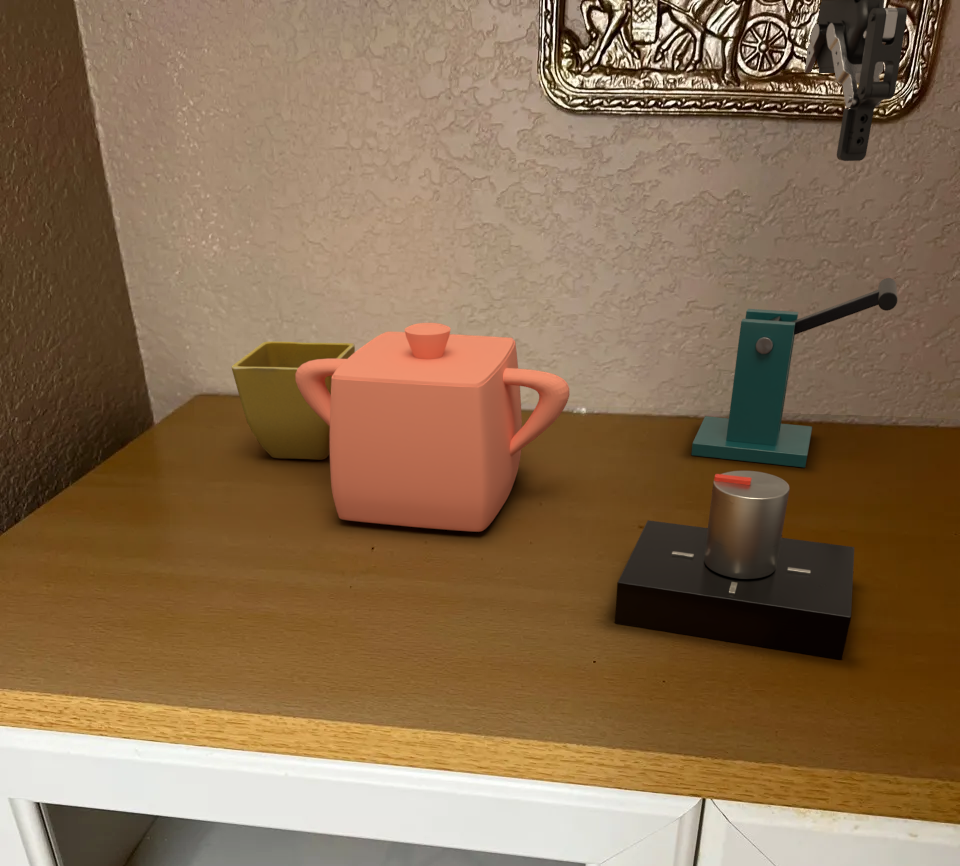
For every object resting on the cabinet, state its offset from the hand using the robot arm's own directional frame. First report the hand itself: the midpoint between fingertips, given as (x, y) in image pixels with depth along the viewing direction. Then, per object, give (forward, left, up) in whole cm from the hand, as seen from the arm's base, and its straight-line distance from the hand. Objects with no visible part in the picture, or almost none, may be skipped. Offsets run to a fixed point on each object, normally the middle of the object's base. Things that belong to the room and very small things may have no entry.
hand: (825, 155), depth 83 cm
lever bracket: (+2, +7, -24) cm, 25 cm away
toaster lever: (-2, +7, -13) cm, 15 cm away
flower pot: (+41, +21, -24) cm, 52 cm away
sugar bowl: (+26, +25, -24) cm, 43 cm away
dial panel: (0, +38, -24) cm, 45 cm away
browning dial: (0, +38, -21) cm, 43 cm away
